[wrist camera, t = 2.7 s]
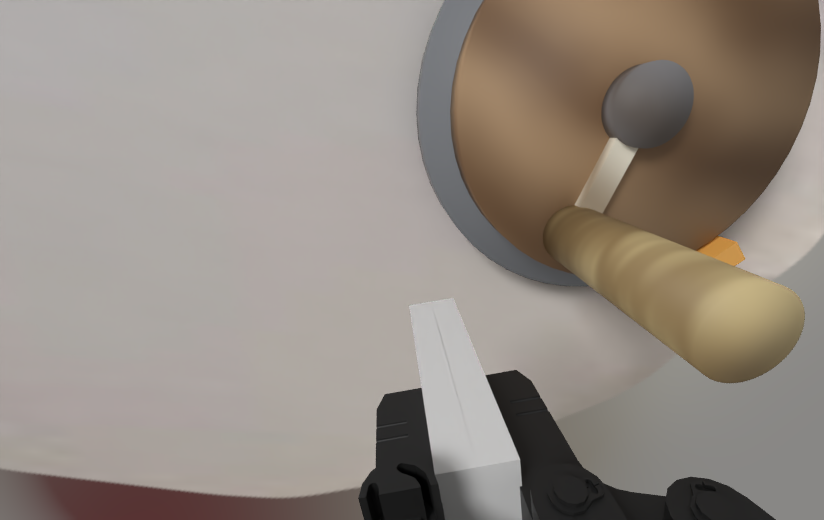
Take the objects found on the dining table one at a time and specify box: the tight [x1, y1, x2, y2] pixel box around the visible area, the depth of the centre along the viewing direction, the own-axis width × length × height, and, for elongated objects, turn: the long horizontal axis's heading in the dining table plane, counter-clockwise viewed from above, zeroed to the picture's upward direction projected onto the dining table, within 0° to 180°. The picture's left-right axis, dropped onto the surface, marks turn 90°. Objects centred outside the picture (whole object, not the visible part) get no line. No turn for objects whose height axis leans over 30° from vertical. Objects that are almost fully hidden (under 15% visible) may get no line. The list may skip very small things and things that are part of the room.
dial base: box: [416, 0, 745, 286], centre depth 19 cm, size 20×20×5 cm
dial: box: [450, 0, 821, 383], centre depth 14 cm, size 17×17×12 cm
